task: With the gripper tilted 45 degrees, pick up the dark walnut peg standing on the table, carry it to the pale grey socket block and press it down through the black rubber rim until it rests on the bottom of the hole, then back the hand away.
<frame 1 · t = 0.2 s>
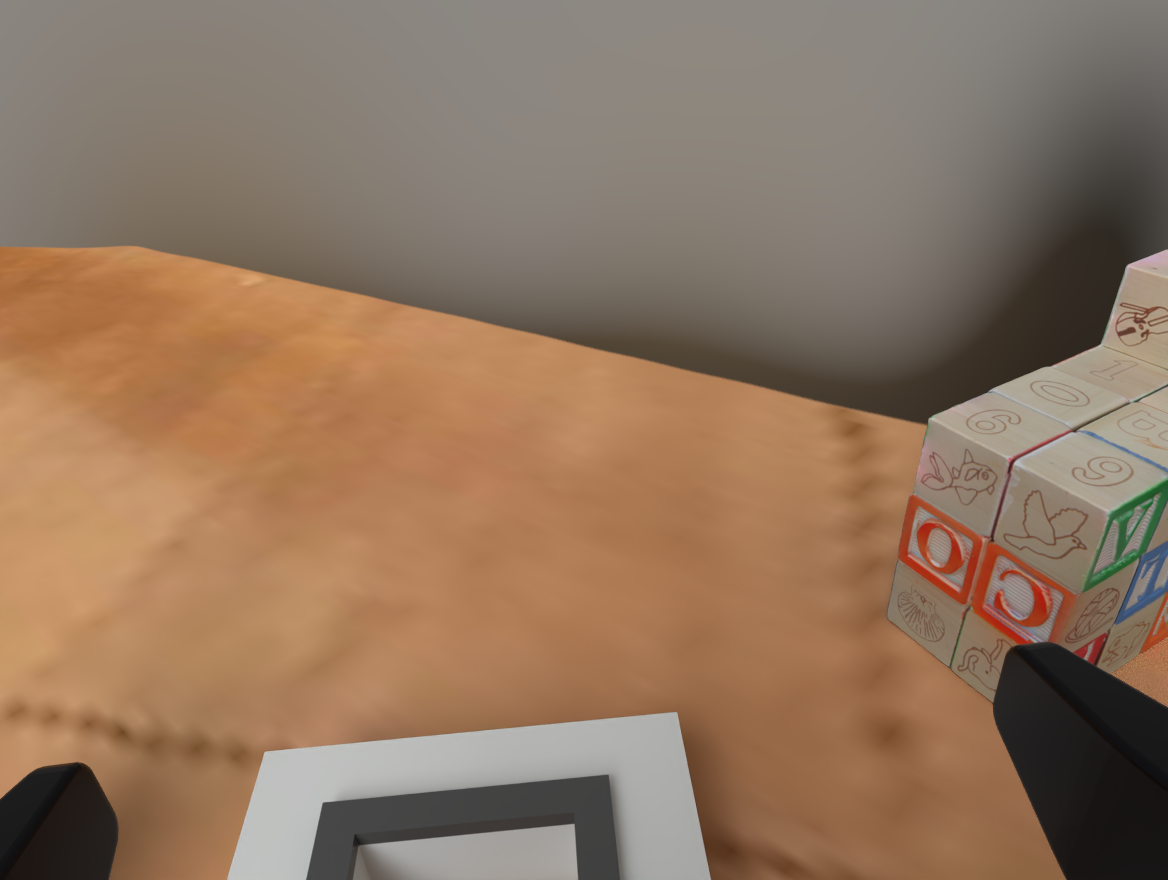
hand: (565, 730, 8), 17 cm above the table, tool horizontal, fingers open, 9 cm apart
stack of blocks: (1130, 568, 34), on the table
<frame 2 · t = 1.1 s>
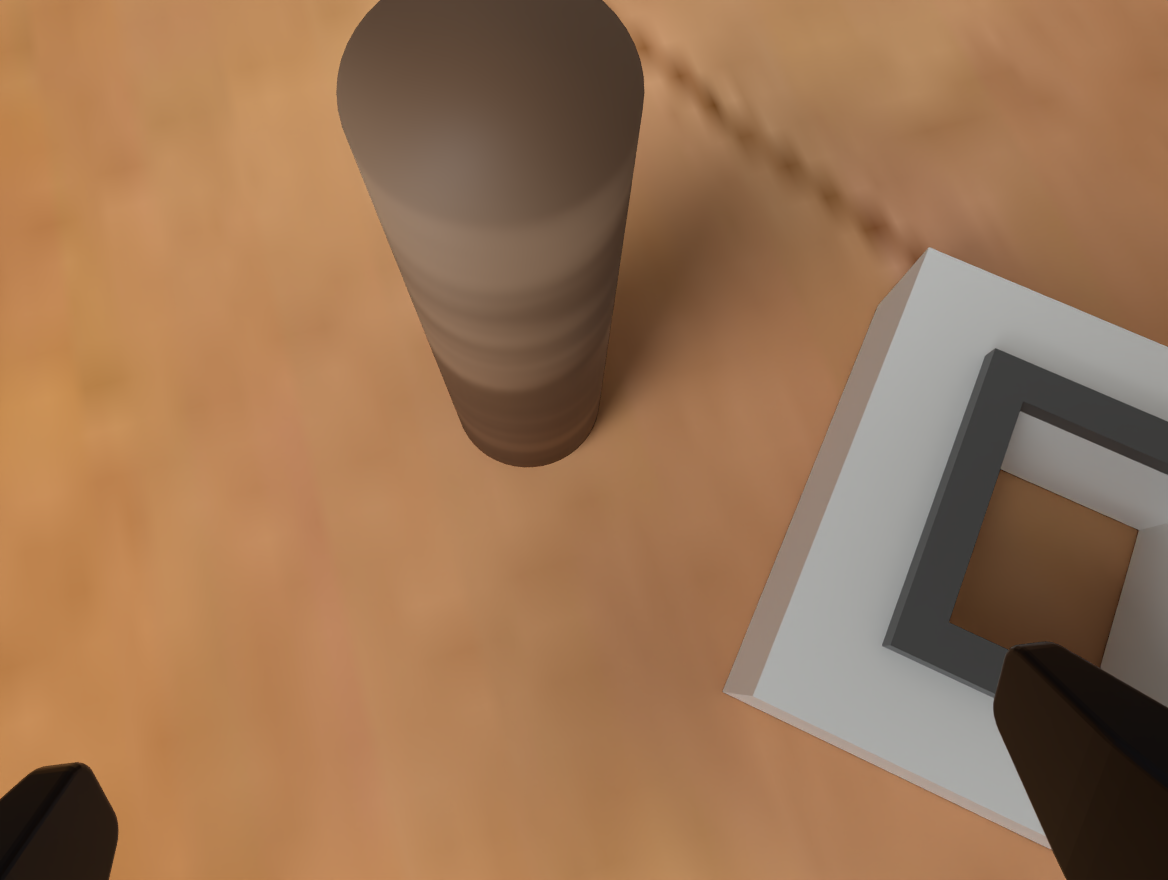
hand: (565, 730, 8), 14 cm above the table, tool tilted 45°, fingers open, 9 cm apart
walnut peg: (528, 398, 23), on the table
socket block: (1012, 579, 22), on the table
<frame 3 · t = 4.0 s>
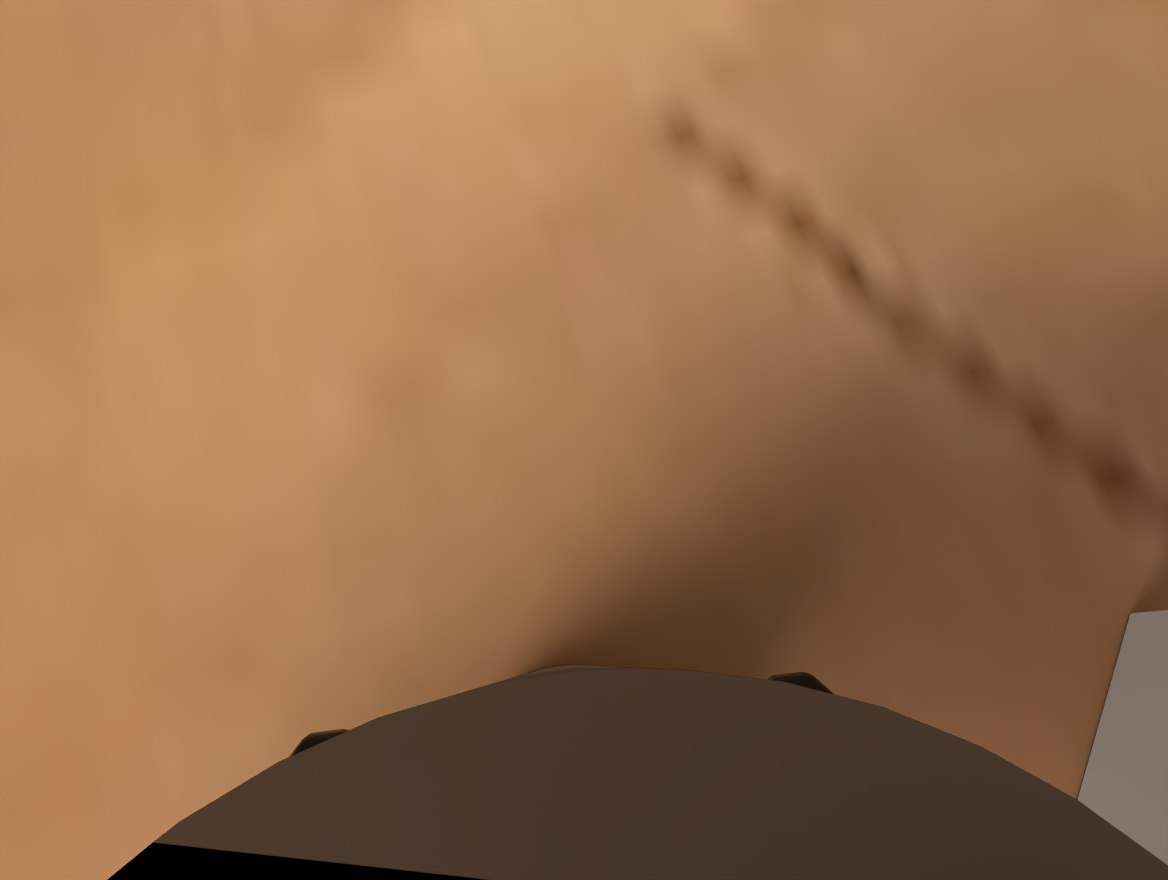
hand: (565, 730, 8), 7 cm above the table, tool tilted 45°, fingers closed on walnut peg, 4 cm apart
walnut peg: (571, 786, 14), on the table, touching gripper
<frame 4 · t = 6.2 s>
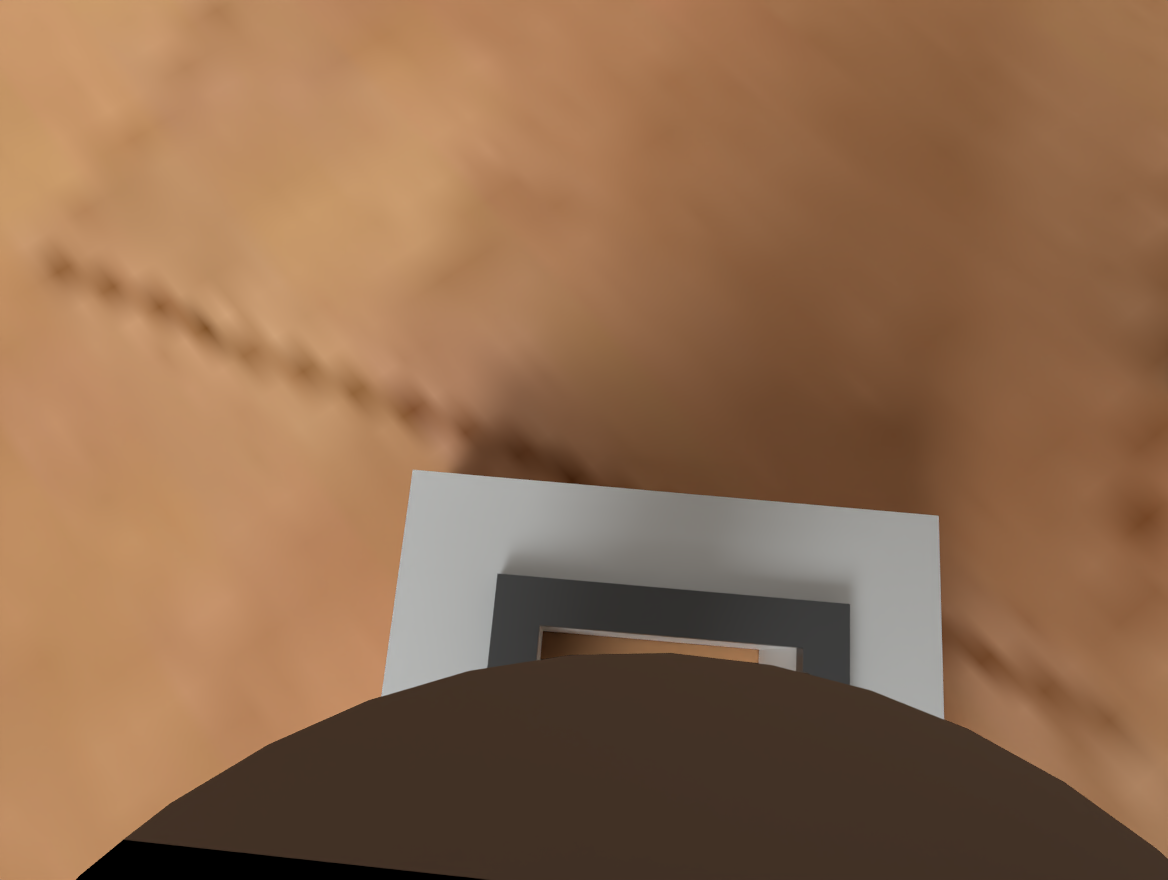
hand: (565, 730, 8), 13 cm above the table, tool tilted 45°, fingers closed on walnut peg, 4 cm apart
walnut peg: (569, 783, 14), point 7 cm above the table, touching gripper
socket block: (644, 755, 21), on the table
when the fingers open (7 cm above the table, at t = 8.5 s): walnut peg stays where it is, resting in socket block.
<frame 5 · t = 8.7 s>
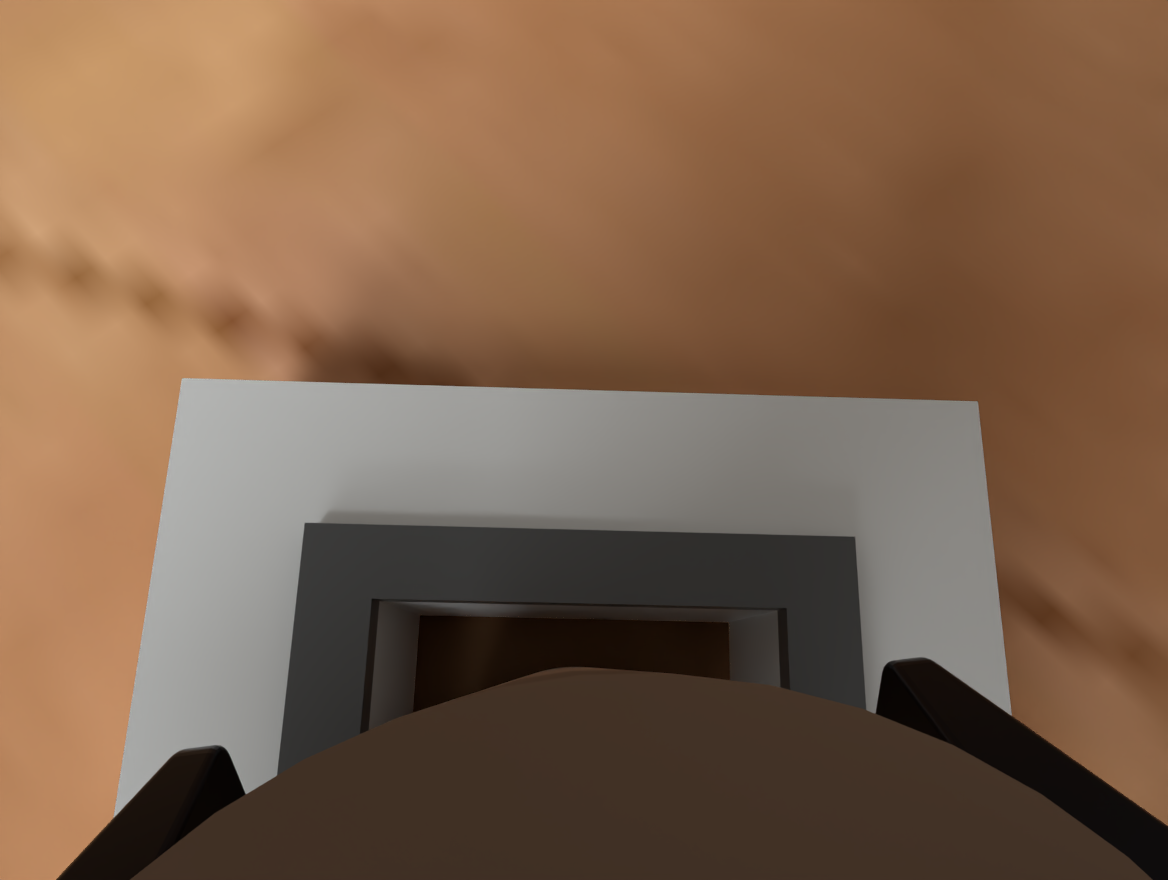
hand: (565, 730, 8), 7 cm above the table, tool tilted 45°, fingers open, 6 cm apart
walnut peg: (571, 786, 14), resting in socket block
socket block: (571, 784, 14), on the table
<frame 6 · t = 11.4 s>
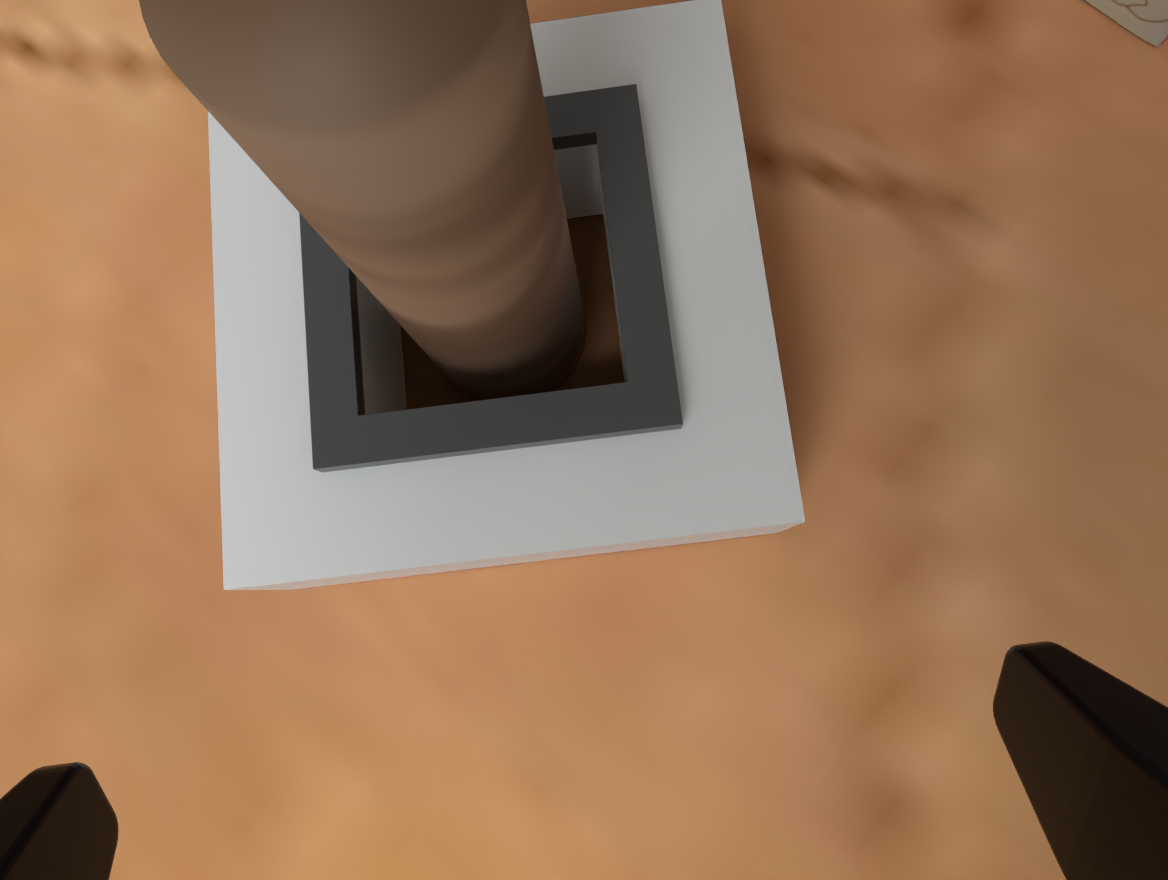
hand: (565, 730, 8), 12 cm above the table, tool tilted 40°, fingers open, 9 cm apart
walnut peg: (508, 330, 21), resting in socket block
socket block: (508, 328, 21), on the table
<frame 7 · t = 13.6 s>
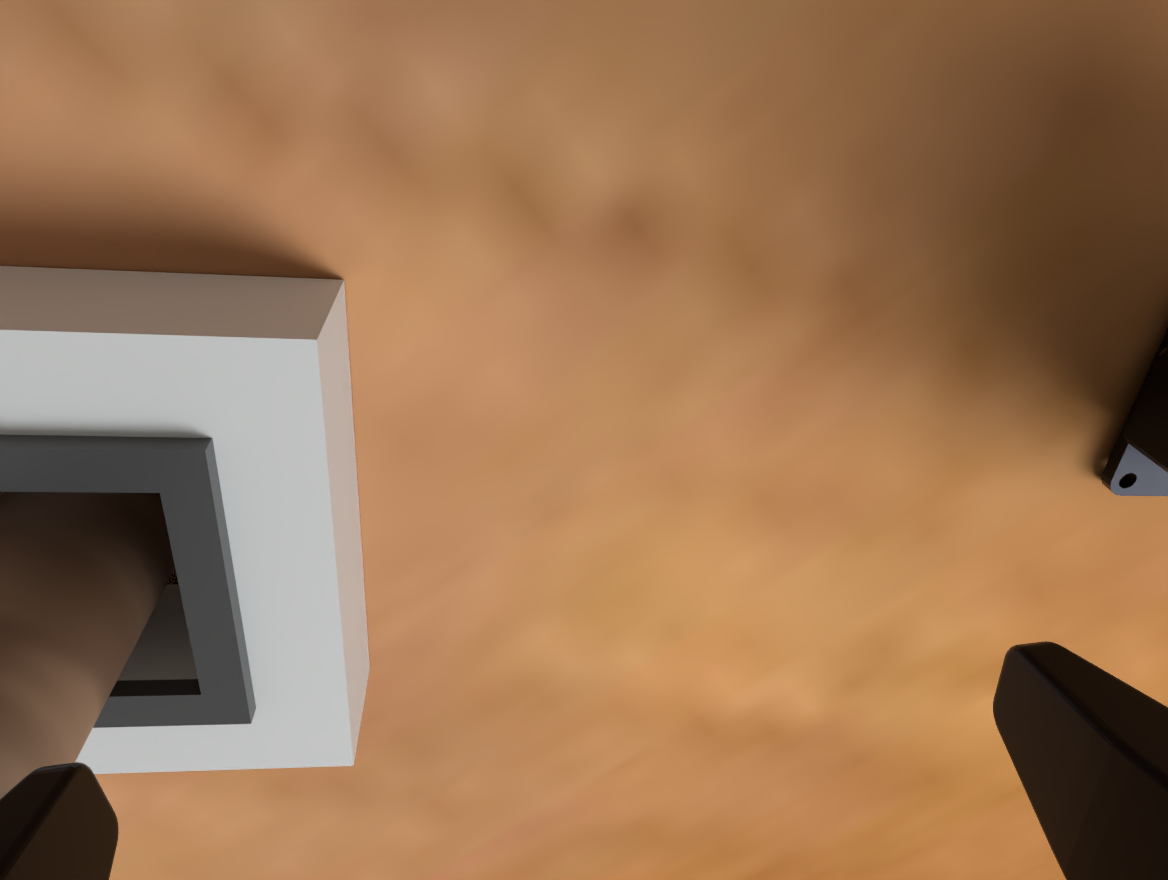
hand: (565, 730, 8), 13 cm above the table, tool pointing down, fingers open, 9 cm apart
walnut peg: (117, 497, 21), resting in socket block
socket block: (115, 498, 21), on the table
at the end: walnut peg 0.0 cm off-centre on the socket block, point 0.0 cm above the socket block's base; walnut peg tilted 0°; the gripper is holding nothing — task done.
